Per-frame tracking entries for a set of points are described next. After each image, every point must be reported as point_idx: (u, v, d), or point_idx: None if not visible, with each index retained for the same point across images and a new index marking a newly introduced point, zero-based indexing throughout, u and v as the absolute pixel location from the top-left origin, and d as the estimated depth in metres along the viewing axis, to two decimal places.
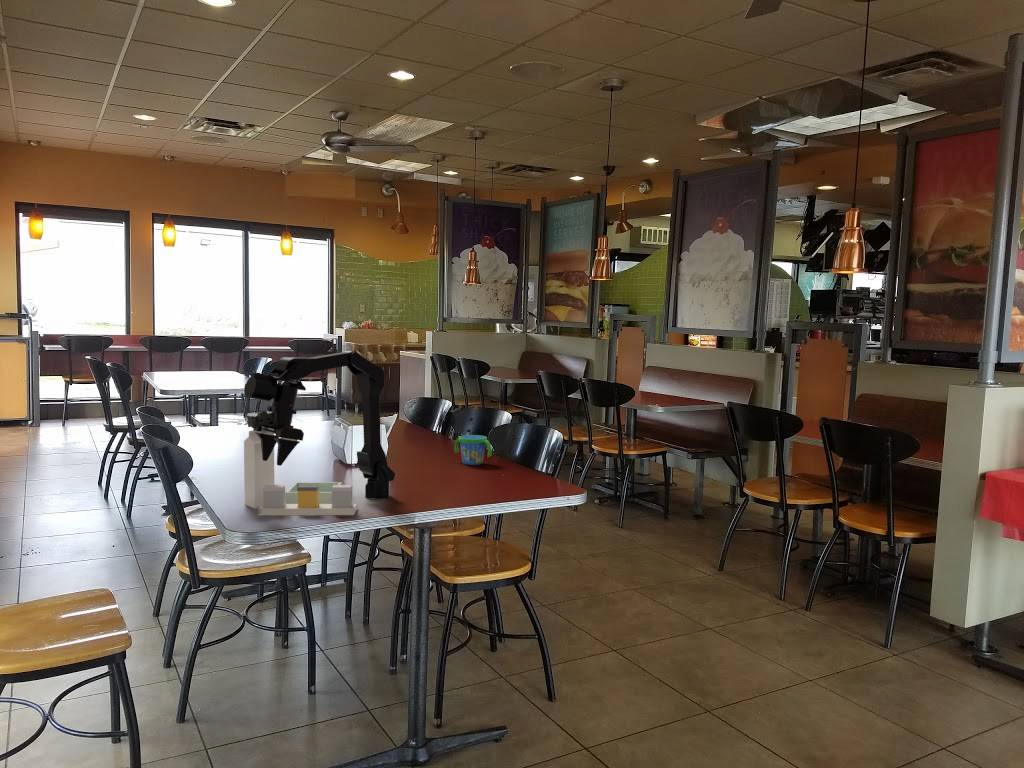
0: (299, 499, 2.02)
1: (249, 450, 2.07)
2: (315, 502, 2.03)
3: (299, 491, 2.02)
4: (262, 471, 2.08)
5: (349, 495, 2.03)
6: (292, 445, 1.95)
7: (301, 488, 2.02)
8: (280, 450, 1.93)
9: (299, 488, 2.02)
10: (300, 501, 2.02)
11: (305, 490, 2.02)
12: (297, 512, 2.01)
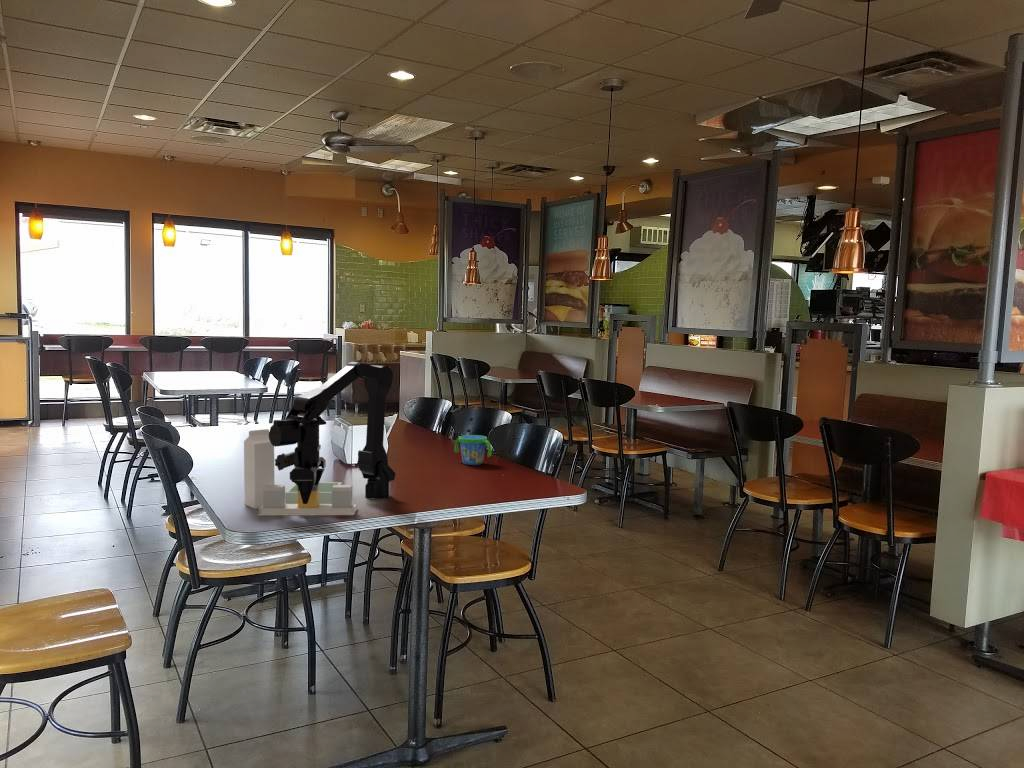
0: (299, 499, 2.02)
1: (249, 450, 2.07)
2: (315, 502, 2.03)
3: (299, 491, 2.02)
4: (262, 471, 2.08)
5: (349, 495, 2.03)
6: (310, 484, 1.97)
7: None
8: (300, 490, 1.98)
9: None
10: (300, 501, 2.02)
11: None
12: (297, 512, 2.01)
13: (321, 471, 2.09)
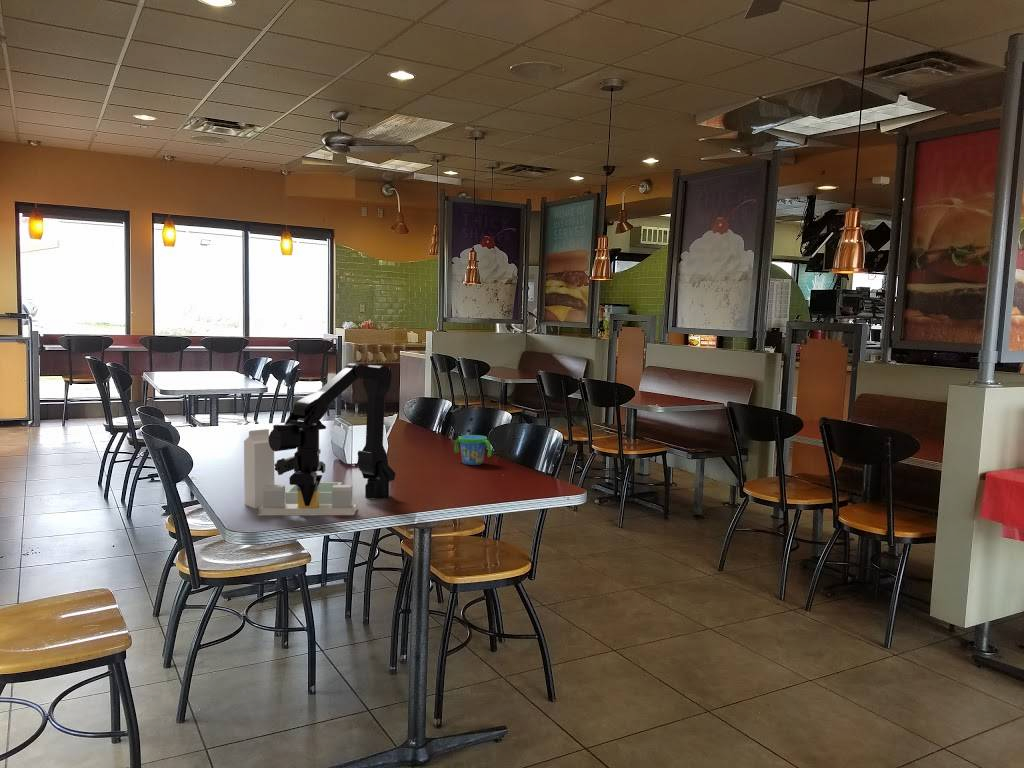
0: (299, 499, 2.02)
1: (249, 450, 2.07)
2: (315, 502, 2.03)
3: (299, 491, 2.02)
4: (262, 471, 2.08)
5: (349, 495, 2.03)
6: (312, 486, 2.00)
7: None
8: (302, 492, 2.01)
9: (299, 488, 2.02)
10: (300, 501, 2.02)
11: None
12: (297, 512, 2.01)
13: (319, 478, 2.06)
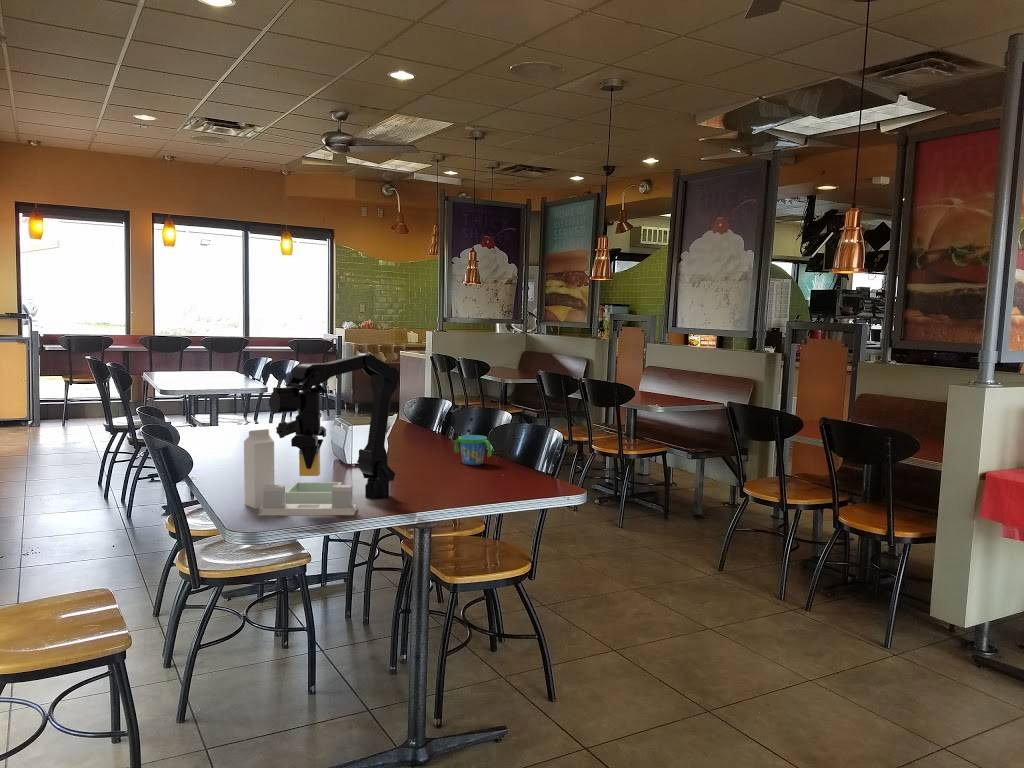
0: (300, 462, 2.04)
1: (249, 450, 2.07)
2: (316, 465, 2.04)
3: (300, 454, 2.04)
4: (262, 471, 2.08)
5: (349, 495, 2.03)
6: (313, 449, 2.02)
7: None
8: (303, 455, 2.02)
9: (300, 451, 2.03)
10: (301, 464, 2.04)
11: None
12: (297, 512, 2.01)
13: (320, 441, 2.07)
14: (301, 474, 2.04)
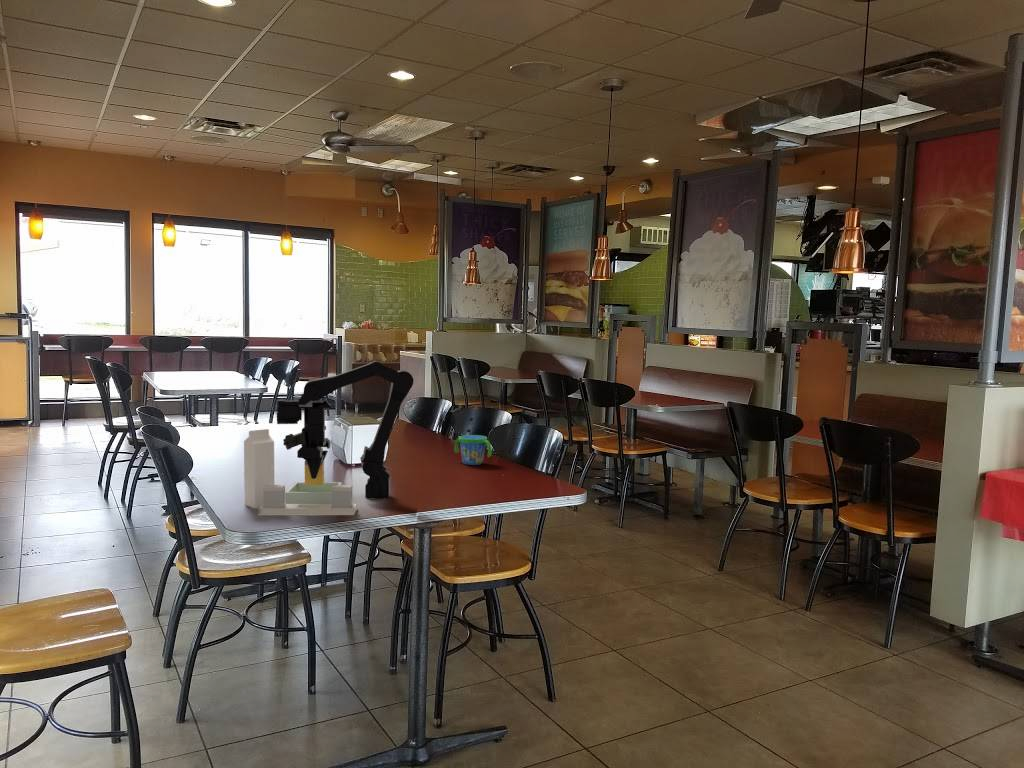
0: (306, 472, 2.16)
1: (249, 450, 2.07)
2: (321, 475, 2.17)
3: (306, 465, 2.16)
4: (262, 471, 2.08)
5: (349, 495, 2.03)
6: (318, 460, 2.14)
7: None
8: (309, 465, 2.15)
9: (306, 462, 2.16)
10: (307, 474, 2.16)
11: None
12: (297, 512, 2.01)
13: (325, 453, 2.20)
14: (306, 483, 2.16)
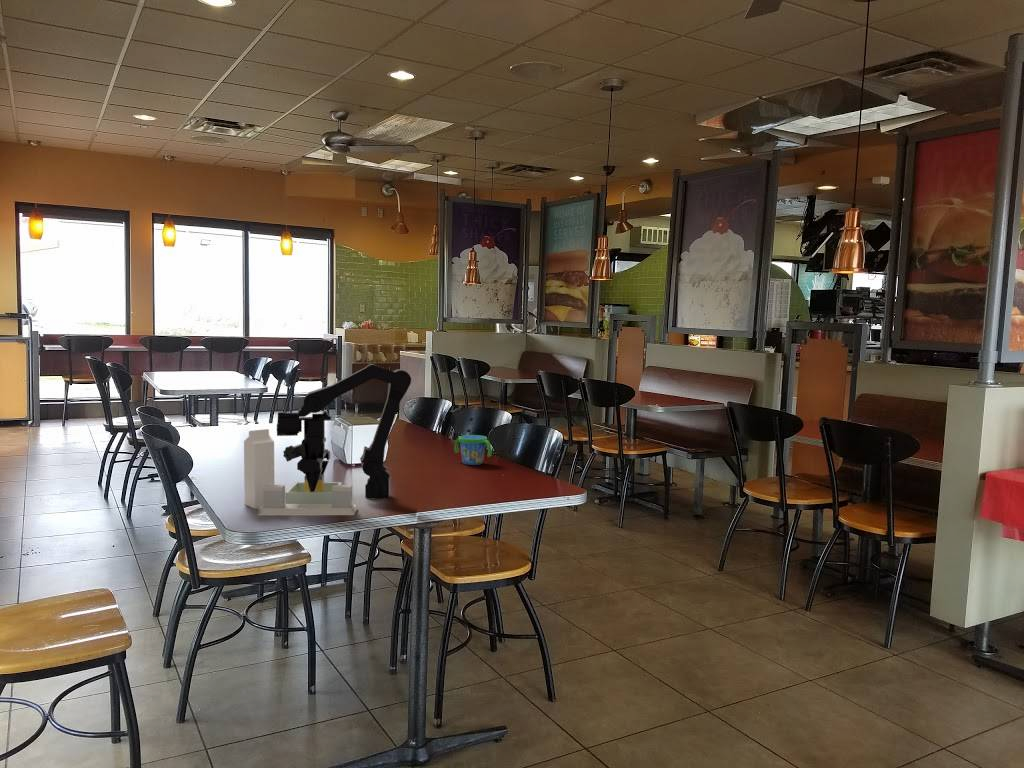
0: (306, 487, 2.17)
1: (249, 450, 2.07)
2: (321, 490, 2.17)
3: (306, 480, 2.16)
4: (262, 471, 2.08)
5: (349, 495, 2.03)
6: (317, 473, 2.12)
7: None
8: (307, 479, 2.13)
9: None
10: (307, 489, 2.17)
11: None
12: (297, 512, 2.01)
13: (326, 463, 2.22)
14: None
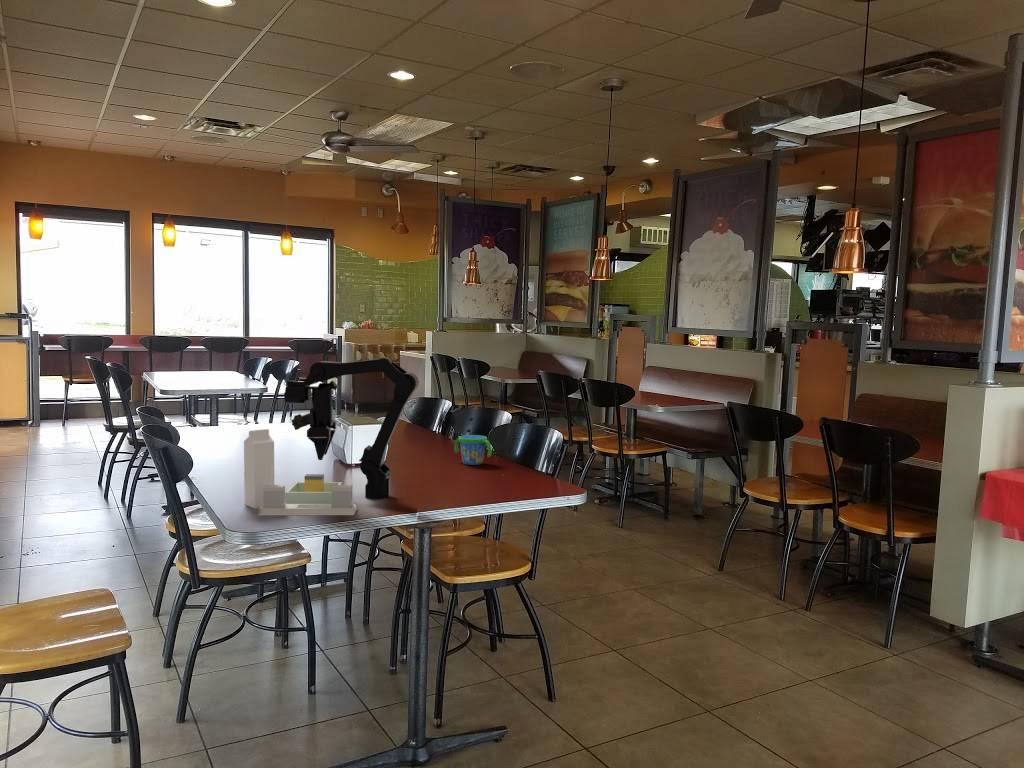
0: (306, 487, 2.17)
1: (249, 450, 2.07)
2: (321, 490, 2.17)
3: (306, 480, 2.16)
4: (262, 471, 2.08)
5: (349, 495, 2.03)
6: (325, 441, 2.15)
7: (308, 477, 2.16)
8: (316, 447, 2.16)
9: (306, 477, 2.16)
10: (307, 489, 2.17)
11: (311, 479, 2.16)
12: (297, 512, 2.01)
13: (333, 432, 2.27)
14: None
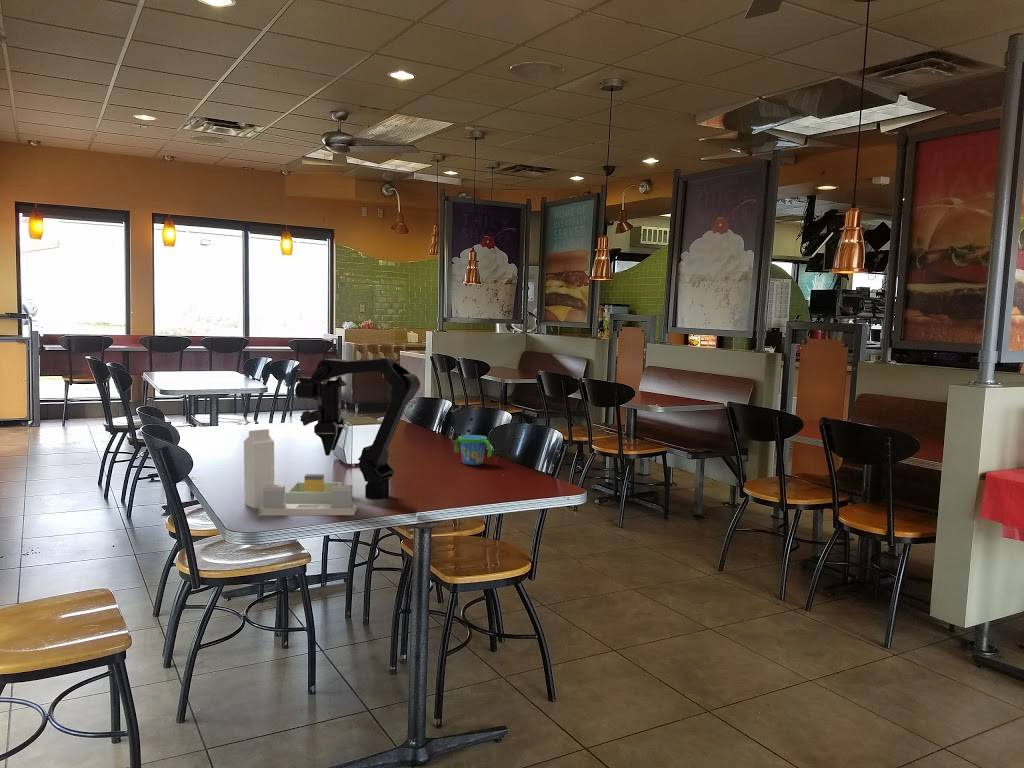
0: (306, 487, 2.17)
1: (249, 450, 2.07)
2: (321, 490, 2.17)
3: (306, 480, 2.16)
4: (262, 471, 2.08)
5: (349, 495, 2.03)
6: (332, 437, 2.20)
7: (308, 477, 2.16)
8: (323, 442, 2.20)
9: (306, 477, 2.16)
10: (307, 489, 2.17)
11: (311, 479, 2.16)
12: (297, 512, 2.01)
13: (341, 428, 2.31)
14: None
